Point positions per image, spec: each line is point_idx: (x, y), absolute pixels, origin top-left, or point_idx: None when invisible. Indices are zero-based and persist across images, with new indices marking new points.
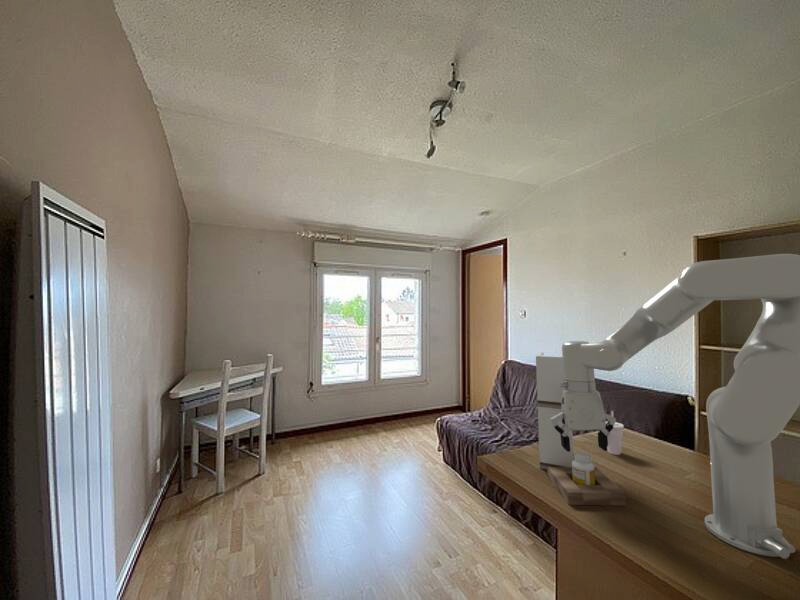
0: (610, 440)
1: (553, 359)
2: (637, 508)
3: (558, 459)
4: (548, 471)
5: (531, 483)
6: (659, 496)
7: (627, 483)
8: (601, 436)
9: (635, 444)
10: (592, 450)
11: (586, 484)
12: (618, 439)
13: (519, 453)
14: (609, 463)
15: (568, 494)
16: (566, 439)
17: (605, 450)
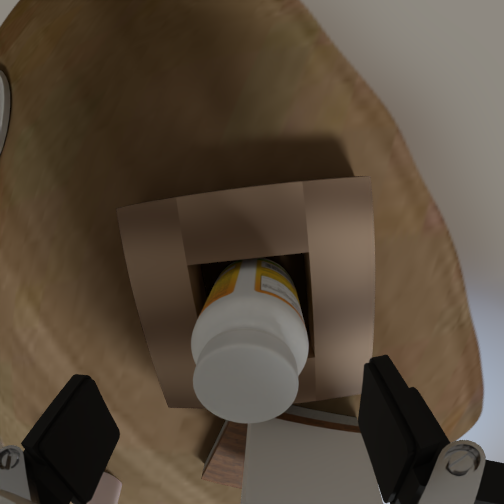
0: (104, 501)
1: None
2: (108, 191)
3: (304, 440)
4: None
5: (430, 313)
6: (37, 280)
7: (94, 351)
8: (62, 464)
9: None
10: (156, 494)
11: (255, 268)
12: None
13: None
14: (124, 447)
15: (365, 176)
16: (425, 428)
17: (85, 375)
